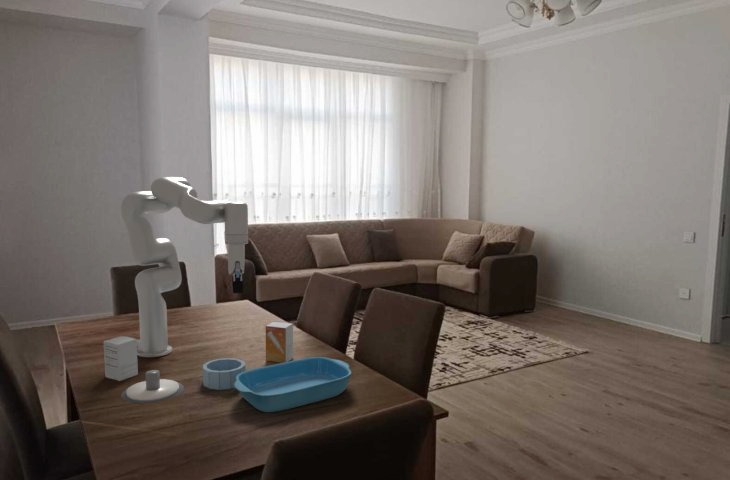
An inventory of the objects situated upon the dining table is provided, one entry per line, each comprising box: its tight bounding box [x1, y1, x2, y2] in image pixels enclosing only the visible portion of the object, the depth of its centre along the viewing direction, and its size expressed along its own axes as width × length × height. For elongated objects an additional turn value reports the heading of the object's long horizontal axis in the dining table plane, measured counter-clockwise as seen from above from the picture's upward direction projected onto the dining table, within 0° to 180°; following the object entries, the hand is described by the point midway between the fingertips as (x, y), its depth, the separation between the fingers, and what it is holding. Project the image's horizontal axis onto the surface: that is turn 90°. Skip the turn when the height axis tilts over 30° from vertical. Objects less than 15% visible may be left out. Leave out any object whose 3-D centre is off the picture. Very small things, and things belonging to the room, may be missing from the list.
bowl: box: [202, 357, 246, 391], centre depth 179 cm, size 13×13×6 cm
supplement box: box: [103, 335, 139, 382], centre depth 183 cm, size 7×7×13 cm
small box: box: [265, 321, 294, 363], centre depth 202 cm, size 8×6×13 cm
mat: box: [120, 381, 185, 404], centre depth 171 cm, size 18×18×1 cm
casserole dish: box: [234, 356, 352, 413], centre depth 170 cm, size 37×22×7 cm, turn 125°
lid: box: [126, 369, 179, 401], centre depth 170 cm, size 15×15×6 cm
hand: (237, 289), depth 188 cm, fingers open, 9 cm apart
